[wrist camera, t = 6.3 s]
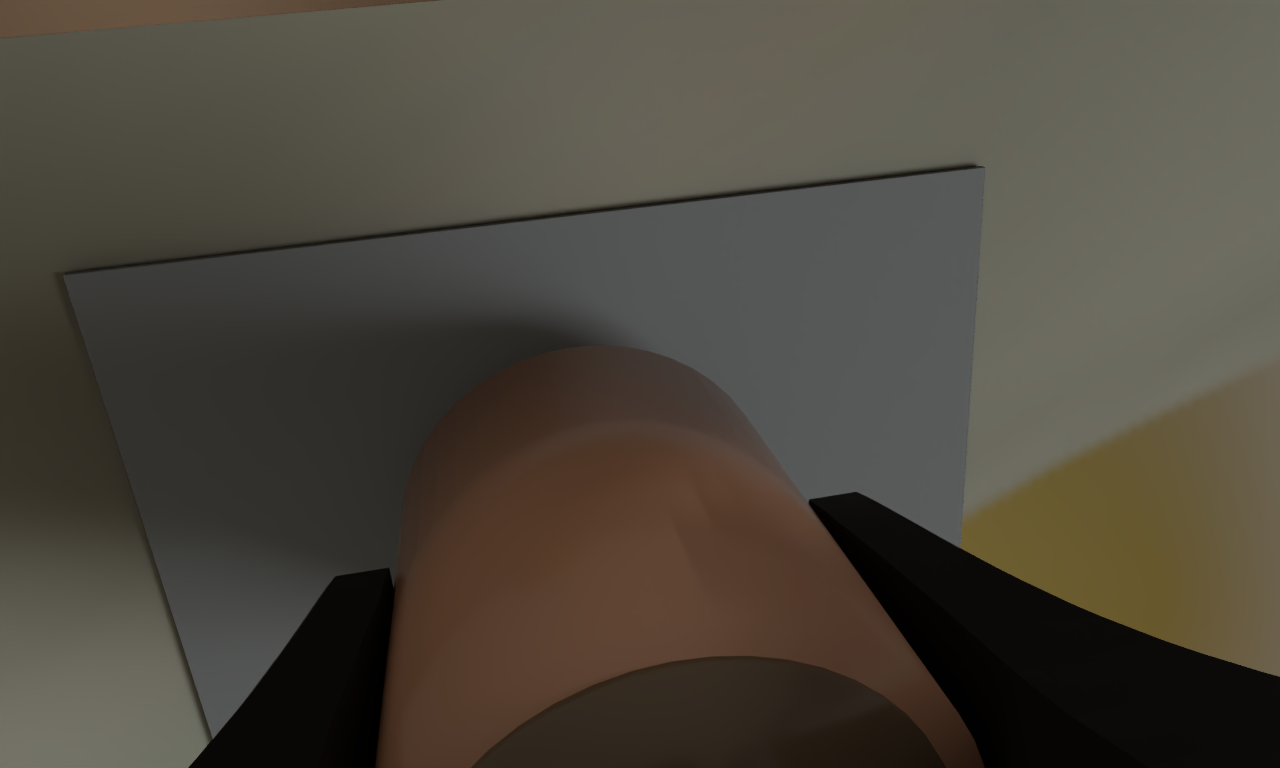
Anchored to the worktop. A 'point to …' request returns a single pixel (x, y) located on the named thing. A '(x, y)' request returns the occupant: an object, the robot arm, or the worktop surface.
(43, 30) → the wooden square frame
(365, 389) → the rubber mat
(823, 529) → the seedling pot
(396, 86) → the worktop surface
